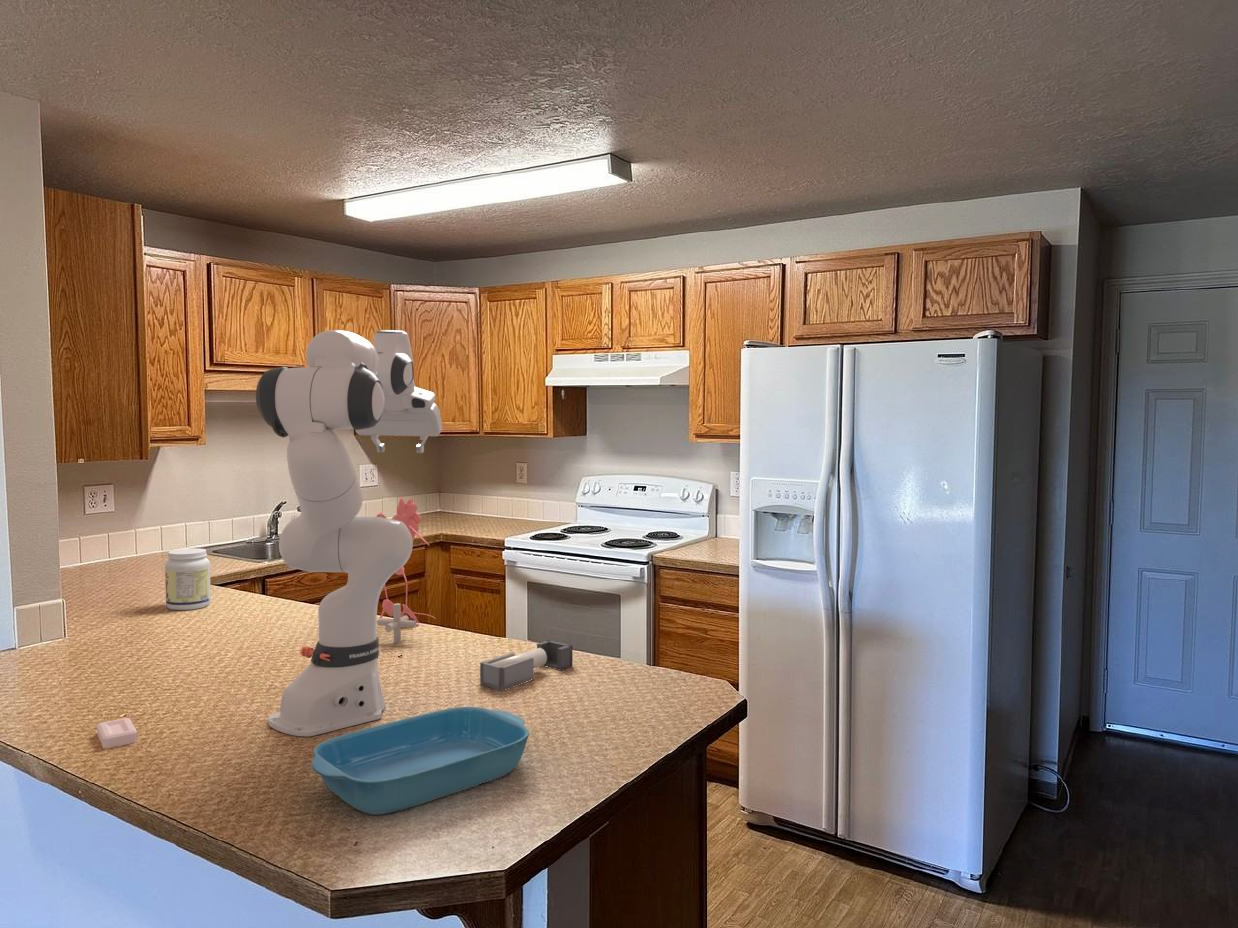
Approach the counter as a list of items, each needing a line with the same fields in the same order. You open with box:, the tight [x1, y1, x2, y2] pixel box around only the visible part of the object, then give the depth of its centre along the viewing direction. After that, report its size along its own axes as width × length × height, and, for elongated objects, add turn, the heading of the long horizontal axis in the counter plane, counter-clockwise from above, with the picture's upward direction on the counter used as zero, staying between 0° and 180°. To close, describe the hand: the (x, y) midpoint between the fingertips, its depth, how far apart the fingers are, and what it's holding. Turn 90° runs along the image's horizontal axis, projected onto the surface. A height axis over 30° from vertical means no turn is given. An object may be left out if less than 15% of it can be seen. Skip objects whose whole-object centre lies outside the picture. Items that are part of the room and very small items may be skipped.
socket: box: [536, 639, 574, 671], centre depth 206 cm, size 4×8×5 cm, turn 53°
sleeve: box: [479, 652, 535, 692], centre depth 193 cm, size 10×7×5 cm, turn 143°
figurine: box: [375, 497, 436, 631], centre depth 247 cm, size 15×26×35 cm, turn 47°
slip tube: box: [491, 647, 547, 669], centre depth 196 cm, size 15×4×4 cm, turn 143°
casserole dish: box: [311, 706, 530, 816], centre depth 143 cm, size 37×22×7 cm, turn 133°
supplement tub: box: [164, 547, 212, 611], centre depth 262 cm, size 12×12×17 cm
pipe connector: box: [377, 602, 418, 644], centre depth 225 cm, size 10×10×10 cm
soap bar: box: [96, 717, 138, 749], centre depth 160 cm, size 5×9×2 cm, turn 37°
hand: (400, 451), depth 210 cm, fingers open, 8 cm apart
